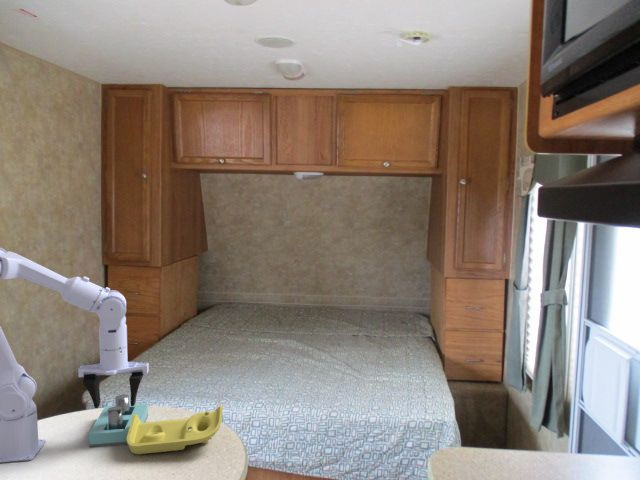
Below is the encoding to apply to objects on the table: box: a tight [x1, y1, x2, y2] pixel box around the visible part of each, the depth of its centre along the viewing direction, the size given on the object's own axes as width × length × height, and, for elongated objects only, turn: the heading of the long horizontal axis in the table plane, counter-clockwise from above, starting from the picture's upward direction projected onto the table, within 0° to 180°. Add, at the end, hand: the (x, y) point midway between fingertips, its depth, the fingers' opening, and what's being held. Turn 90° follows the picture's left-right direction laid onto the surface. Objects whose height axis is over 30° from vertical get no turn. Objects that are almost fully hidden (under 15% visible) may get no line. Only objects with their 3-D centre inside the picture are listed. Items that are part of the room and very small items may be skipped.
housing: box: [88, 403, 149, 448], centre depth 116 cm, size 10×14×3 cm
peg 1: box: [114, 393, 130, 415], centre depth 119 cm, size 3×3×6 cm
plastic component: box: [127, 405, 224, 455], centre depth 110 cm, size 20×7×10 cm
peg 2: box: [108, 405, 123, 430], centre depth 113 cm, size 3×3×6 cm
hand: (115, 405), depth 112 cm, fingers open, 7 cm apart
